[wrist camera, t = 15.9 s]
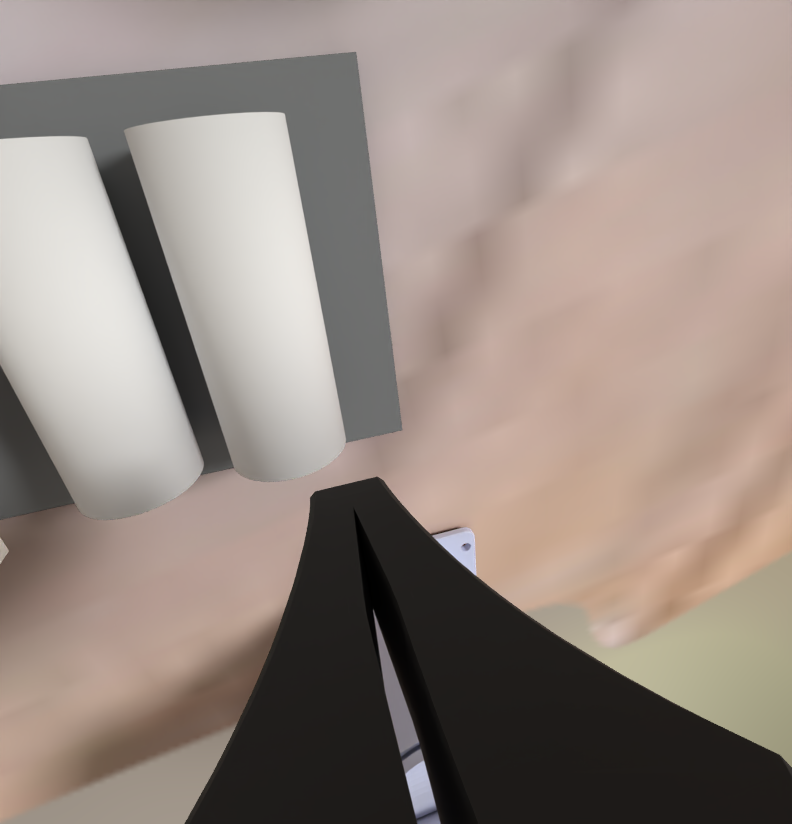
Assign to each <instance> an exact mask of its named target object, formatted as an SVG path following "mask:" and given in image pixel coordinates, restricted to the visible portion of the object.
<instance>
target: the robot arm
mask: <svg viewBox="0 0 792 824" xmlns="http://www.w3.org/2000/svg"><path fill="white" fill-rule="evenodd" d="M465 543H467V544H466V545H464V546H462V545H463V544H465ZM185 824H792V767H791V766H790V765H789V764H788V763H787V762H786V761H785V760H784V759H783V758H782V757H781V756H780V755H779V754H777V753H774V752H772V751H770V750H768V749H766V748H764V747H762V746H760V745H758V744H756V743H754V742H752V741H750V740H747V739H745V738H743V737H741V736H739V735H737V734H735V733H733V732H731V731H729V730H727V729H725V728H723V727H721V726H718V725H716V724H714V723H712V722H710V721H708V720H706V719H704V718H702V717H700V716H698V715H696V714H694V713H692V712H690V711H688V710H686V709H684V708H682V707H680V706H678V705H676V704H675V703H673V702H671V701H669V700H667V699H665V698H663V697H662V696H660V695H658V694H656V693H654V692H653V691H651V690H649V689H647V688H645V687H643V686H641V685H640V684H638V683H636V682H634V681H632V680H630V679H629V678H627V677H625V676H623V675H622V674H620V673H618V672H617V671H615V670H613V669H612V668H610V667H608V666H607V665H605V664H603V663H602V662H600V661H598V660H597V659H595V658H594V657H592V656H590V655H589V654H587V653H585V652H584V651H582V650H580V649H578V648H577V647H576V646H574V645H572V644H570V643H569V642H567V641H565V640H564V639H562V638H561V637H559V636H557V635H556V634H554V633H553V632H551V631H550V630H549V629H547V628H546V627H544V626H543V625H541V624H540V623H538V622H537V621H535V620H534V619H532V618H531V617H530V616H528V615H527V614H525V613H524V612H522V611H521V610H520V609H518V608H517V607H516V606H514V605H513V604H512V603H510V602H509V601H507V600H506V599H505V598H503V597H502V596H501V595H499V594H498V593H497V592H496V591H494V590H493V589H492V588H490V587H489V586H488V585H487V584H485V583H484V582H483V581H482V580H481V579H479V578H478V577H477V576H476V558H475V536H474V534H473V532H472V530H471V529H470V528H467V527H464V528H459V529H455V530H452V531H448V532H444V533H440V534H436V535H431V534H430V533H429V532H428V531H427V530H425V529H424V528H423V527H422V526H421V524H420V523H419V522H418V521H417V520H416V519H415V518H414V517H413V516H412V515H411V514H410V513H409V512H408V510H407V509H406V508H405V507H404V506H403V505H402V504H401V503H400V501H399V500H398V499H397V498H396V497H395V495H394V494H393V493H392V492H391V490H390V489H389V488H388V486H387V485H386V484H385V482H384V481H383V480H382V479H380V478H379V477H374V478H370V479H366V480H362V481H357V482H353V483H349V484H345V485H341V486H336V487H332V488H328V489H324V490H320V491H315V492H314V494H313V495H312V496H311V497H310V513H309V521H308V527H307V532H306V537H305V542H304V546H303V550H302V554H301V558H300V562H299V565H298V569H297V573H296V577H295V580H294V584H293V587H292V590H291V593H290V596H289V599H288V602H287V605H286V608H285V611H284V614H283V617H282V620H281V623H280V626H279V629H278V631H277V634H276V636H275V639H274V642H273V644H272V647H271V649H270V652H269V654H268V657H267V659H266V662H265V664H264V666H263V669H262V671H261V674H260V676H259V678H258V681H257V683H256V685H255V687H254V690H253V692H252V694H251V696H250V698H249V700H248V703H247V705H246V707H245V709H244V711H243V713H242V715H241V717H240V719H239V722H238V724H237V726H236V728H235V730H234V732H233V734H232V736H231V738H230V741H229V743H228V744H227V746H226V748H225V750H224V752H223V754H222V756H221V758H220V760H219V762H218V764H217V766H216V768H215V770H214V772H213V774H212V775H211V777H210V779H209V781H208V783H207V784H206V786H205V788H204V790H203V792H202V793H201V795H200V797H199V799H198V801H197V802H196V804H195V806H194V808H193V810H192V811H191V813H190V815H189V817H188V819H187V820H186V822H185Z"/></svg>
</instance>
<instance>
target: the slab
mask: <svg viewBox="0 0 792 824" xmlns="http://www.w3.org/2000/svg"><path fill="white" fill-rule="evenodd" d="M8 551H9V550H8V548H7V547H6V545H5V544H4V542H3V541H2V539H1V538H0V564H1V562H2V561H3V559H4V558H5V556H6V555H7V553H8Z"/></svg>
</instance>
